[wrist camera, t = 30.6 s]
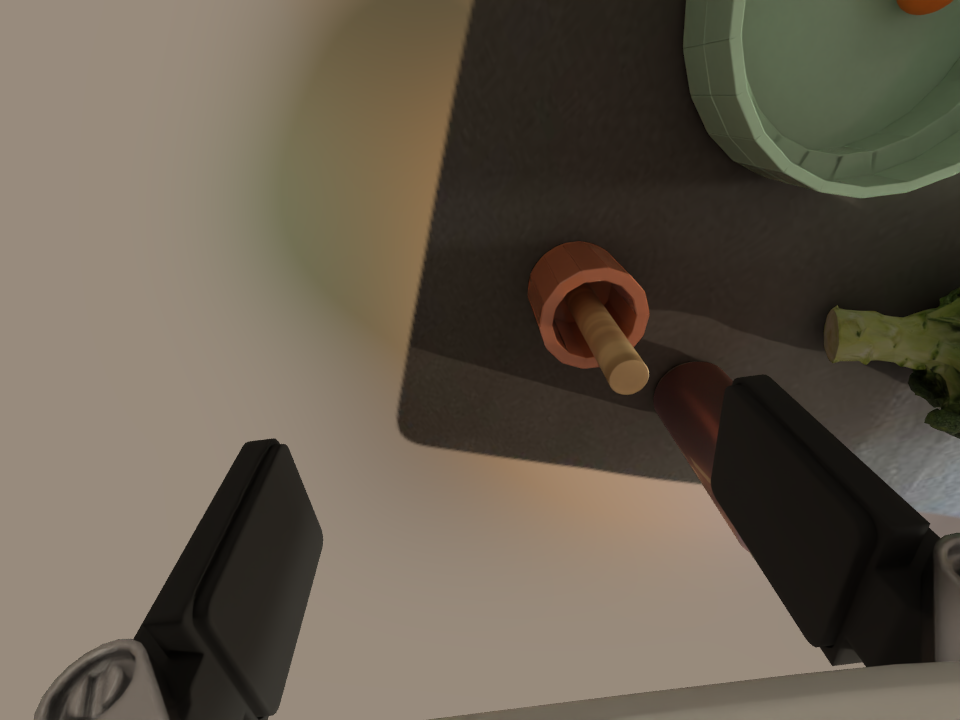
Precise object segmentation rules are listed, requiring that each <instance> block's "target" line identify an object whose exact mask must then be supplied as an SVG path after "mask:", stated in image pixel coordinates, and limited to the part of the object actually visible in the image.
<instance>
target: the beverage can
mask: <svg viewBox="0 0 960 720" xmlns="http://www.w3.org/2000/svg"><path fill="white" fill-rule="evenodd" d="M732 382H733V381H732V380H731V379H730V378H729V376H728V375H727V374H726V373H725V372H724V371H723V370H722V369H721V368H719V367H718V366H716V365H714V364H712V363H708V362H687V363H683V364H680V365H678V366H676V367H674V368H672V369H671V370H669V371H668V372H667V373H666V374H665V375H664V376H663V377H662V378H661V380H660V381H659V383H658V385H657V387H656V390H655V393H654V399H653V402H654V408H655V410H656V412H657V414H658V416H659V417H660V419H661V420H662V422H663V423H664V425H665V427H666V428H667V430H668V431H669V433H670V434H671V436H672V438H673V439H674V441H675V442H676V444H677V445H678V447H679V449H680V450H681V452H682V453H683V455H684V456H685V458H686V460H687V461H688V463H689V464H690V466H691V467H692V469H693V471H694V472H695V474H696V475H697V477H698V478H699V480H700V482H701V483H702V485H703V486H704V488H705V489H706V491H707V493H708V494H709V495H710V497H711V499H712V500H713V502H714V504H715V505H716V507H717V508H718V510H719V511H720V513H721V514H722V516H723V518H724V519H725V521H726V522H727V523H728V526H729V527H730V529H731V530H732V532H733V533H734V535H735V536H736V538H737V539H738V541H739V543H740V544H741V546H742V547H744V548H745V549H746V550H747V551H748V552H750V551H749V550H748V548H747V546H746V545H745V543H744V542H743V540H742V539H741V537H740V536H739V534H738V532H737V531H736V529H735V528H734V526H733V525H732V523H731V522H730V520H729V518H728V517H727V515H726V514H725V512H724V511H723V509H722V508H721V506H720V505H719V503H718V501H717V500H716V498H715V496H714V494H713V492H712V488H711V475H712V468H713V462H714V455H715V449H716V442H717V436H718V429H719V423H720V417H721V410H722V404H723V397H724V392H725V389H726V387H728V386H732ZM750 554H751V553H750ZM751 555H752V554H751ZM752 557H753V556H752ZM753 558H754V557H753Z"/></svg>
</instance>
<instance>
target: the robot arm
mask: <svg viewBox="0 0 960 720" xmlns="http://www.w3.org/2000/svg"><path fill="white" fill-rule="evenodd" d="M711 488H712V492H713V494H714V496H715V498H716V500H717V501H718V503H719V505H720V506H721V508H722V509H723V511H724V512H725V514H726V515H727V517H728V518H729V520H730V522H731V523H732V525H733V526H734V528H735V529H736V531H737V532H738V534H739V536H740V537H741V539H742V540H743V542H744V543H745V545H746V546H747V548H748V550H749V551H750V553H751V554H752V556H753V557H754V559H755V560H756V562H757V563H758V565H759V567H760V568H761V570H762V571H763V573H764V574H765V576H766V577H767V579H768V580H769V582H770V584H771V585H772V587H773V588H774V590H775V591H776V593H777V594H778V596H779V598H780V599H781V601H782V602H783V604H784V605H785V607H786V609H787V610H788V612H789V613H790V615H791V616H792V618H793V619H794V621H795V623H796V624H797V626H798V627H799V628H800V630H801V632H802V633H803V635H804V637H805V638H806V639H807V641H808V642H809V643H810V644H811V645H812V646H814V647H820V648H821V650H822V651H823V652H824V654H825V656H826V657H827V659H828V660H829V661H830V663H831V665H832V666H835V665H844V664H851V663H860V662H863V663H864V665H865V666H866V667H865V668H855V669H845V670H835V671H825V672H816V673H805V674H796V675H788V676H779V677H771V678H762V679H754V680H745V681H737V682H729V683H721V684H712V685H703V686H696V687H687V688H678V689H670V690H662V691H653V692H645V693H637V694H629V695H620V696H612V697H604V698H596V699H588V700H580V701H572V702H564V703H556V704H548V705H540V706H532V707H524V708H517V709H508V710H500V711H492V712H484V713H476V714H468V715H461V716H453V717H445V718H438V719H430V720H960V533H954V534H950V535H945V536H943V537H942V538H940V537H939V536H938V535H936V534H935V533H934V532H933V531H932V530H931V529H930V528H929V525H930V523H929V522H928V521H927V520H926V519H925V518H923V517H922V516H921V515H920V514H919V513H918V512H917V511H916V510H915V509H914V508H912V507H911V506H910V505H909V504H908V503H907V502H906V501H905V500H904V499H903V498H902V497H900V496H899V495H898V494H897V493H896V492H895V491H894V490H893V489H892V488H891V487H890V486H888V485H887V484H886V483H885V482H884V481H883V480H882V479H881V478H880V477H879V476H877V475H876V474H875V473H874V472H873V471H872V470H871V469H870V468H869V467H868V466H867V465H865V464H864V463H863V462H862V461H861V460H860V459H859V458H858V457H857V456H856V455H854V454H853V453H852V452H851V451H850V450H849V449H848V448H847V447H846V446H845V445H844V444H842V443H841V442H840V441H839V440H838V439H837V438H836V437H835V436H834V435H833V434H832V433H830V432H829V431H828V430H827V429H826V428H825V427H824V426H823V425H822V424H821V423H819V422H818V421H817V420H816V419H815V418H814V417H813V416H812V415H811V414H810V413H809V412H807V411H806V410H805V409H804V408H803V407H802V406H801V405H800V404H799V403H798V402H796V401H795V400H794V399H793V398H792V397H791V396H790V395H789V394H788V393H787V392H786V391H784V390H783V389H782V388H781V387H780V386H779V385H778V384H777V383H776V382H775V381H774V380H772V379H771V378H770V377H769V376H767V375H756V376H748V377H740V378H736V379H734V381H733V382H732V386H728V387H726V389H725V392H724V397H723V404H722V410H721V417H720V423H719V429H718V436H717V442H716V449H715V455H714V462H713V468H712V475H711ZM322 546H323V534H322V530H321V527H320V525H319V522H318V520H317V518H316V515H315V512H314V510H313V507H312V505H311V502H310V500H309V498H308V495H307V493H306V490H305V488H304V485H303V483H302V480H301V478H300V475H299V473H298V470H297V468H296V465H295V463H294V460H293V458H292V456H291V453H290V450H289V448H288V446H287V445H285V444H280V443H279V442H278V441H277V440H276V439H266V440H258V441H250V442H247V443H245V444H244V446H243V447H242V449H241V451H240V452H239V454H238V456H237V458H236V459H235V461H234V463H233V465H232V466H231V468H230V470H229V472H228V473H227V475H226V477H225V479H224V480H223V482H222V484H221V486H220V488H219V489H218V491H217V493H216V495H215V496H214V498H213V500H212V502H211V503H210V505H209V507H208V509H207V511H206V512H205V514H204V516H203V518H202V519H201V521H200V523H199V524H198V526H197V528H196V530H195V531H194V533H193V535H192V537H191V538H190V540H189V542H188V544H187V546H186V547H185V549H184V551H183V553H182V554H181V556H180V558H179V560H178V562H177V563H176V565H175V567H174V569H173V570H172V572H171V574H170V575H169V577H168V579H167V581H166V583H165V585H164V586H163V588H162V590H161V591H160V593H159V595H158V597H157V599H156V600H155V602H154V604H153V605H152V607H151V609H150V611H149V613H148V614H147V616H146V618H145V620H144V621H143V623H142V625H141V627H140V629H139V630H138V632H137V634H136V635H135V637H134V639H118V640H115V641H112V642H108V643H106V644H102V645H100V646H99V647H97V648H95V649H93V650H91V651H89V652H87V653H86V654H84V655H83V656H82V657H80V658H79V659H78V660H76V661H75V662H74V663H72V664H71V665H70V666H68V667H67V668H66V670H64V672H63V673H62V674H61V675H60V676H58V677H57V678H56V679H55V680H54V682H53V683H52V684H51V686H50V687H49V689H48V690H47V691H46V693H45V694H44V695H43V697H42V699H41V701H40V703H39V705H38V707H37V710H36V712H35V715H34V720H268V717H269V716H271V715H274V714H275V713H276V711H277V710H278V708H279V705H280V702H281V698H282V694H283V690H284V687H285V683H286V679H287V676H288V672H289V668H290V665H291V661H292V657H293V653H294V649H295V646H296V643H297V639H298V635H299V632H300V628H301V624H302V620H303V617H304V613H305V609H306V606H307V602H308V598H309V595H310V591H311V587H312V584H313V580H314V576H315V572H316V568H317V565H318V561H319V557H320V554H321V550H322Z"/></svg>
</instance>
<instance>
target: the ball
mask: <svg viewBox="0 0 960 720" xmlns="http://www.w3.org/2000/svg"><path fill="white" fill-rule="evenodd" d="M896 1H897V4H898V6H899V7H900V8H901V9H902V10H903V11H905V12H906V13H908V14H912V15H925V14H930V13H933V12H936V11H938V10H940V9H942V8H944V7H945V6H947V5H948V4H950V3H951V2H952V1H953V0H896Z"/></svg>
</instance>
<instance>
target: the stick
mask: <svg viewBox="0 0 960 720" xmlns="http://www.w3.org/2000/svg"><path fill="white" fill-rule="evenodd" d="M563 299H564V301H565V303H566V305H567V307H568V308H569V310H570V312H571V314H572V316H573V318H574V320H575V322H576V323H577V325H578V327H579V329H580V331H581V333H582V335H583V336H584V338H585V340H586V342H587V344H588V346H589V348H590V350H591V351H592V353H593V355H594V357H595V359H596V361H597V363H598V364H599V366H600V368H601V370H602V372H603V374H604V376H605V378H606V379H607V381H608V383H609V385H610V387H611V388H612V390H614V391H615V392H617V393H619V394H623V395H628V394H633V393H636V392H638V391H639V390H641V389H642V388H643V387H644V386H645V385H646V383H647V381H648V378H649V370H648V368H647V366H646V364H645V363H644V362H643V360H642V359H641V357H640V356H639V355H638V353H637V352H636V350H635V349H634V348H633V346H632V345H631V343H630V342H629V341H628V339H627V338H626V336H625V335H624V333H623V332H622V331H621V329H620V328H619V326H618V325H617V324H616V322H615V321H614V319H613V318H612V317H611V315H610V314H609V312H608V311H607V310H606V308H605V307H604V305H603V304H602V303H601V301H600V300H599V298H598V297H597V295H596V294H595V293H594V291H593V290H592V288H591V287H590V286H589V284H588V283H587V282H586V283H583V284H581V285H580V286H578V287H576V288H574V289H573V290H571V291H569V292H568V293H567V294H566V295H565V296H564V298H563Z"/></svg>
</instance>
